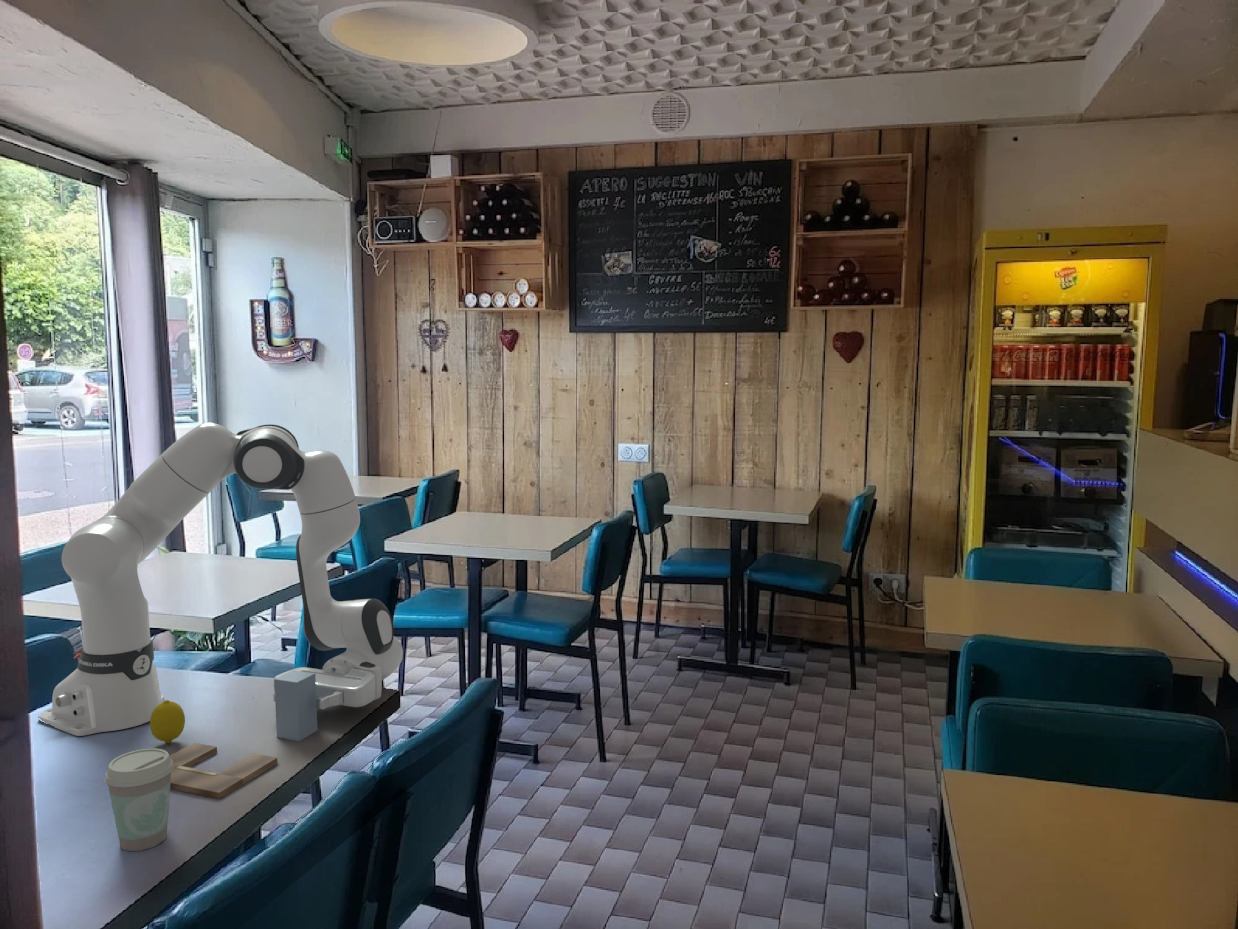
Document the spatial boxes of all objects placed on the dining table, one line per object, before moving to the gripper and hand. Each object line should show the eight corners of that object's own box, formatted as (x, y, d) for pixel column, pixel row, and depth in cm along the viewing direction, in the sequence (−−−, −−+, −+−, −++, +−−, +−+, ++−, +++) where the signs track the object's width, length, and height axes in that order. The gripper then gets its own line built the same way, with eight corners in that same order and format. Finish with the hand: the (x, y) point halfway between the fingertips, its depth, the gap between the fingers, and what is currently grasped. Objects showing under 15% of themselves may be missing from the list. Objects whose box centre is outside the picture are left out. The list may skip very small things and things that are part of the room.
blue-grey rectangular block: (276, 737, 157) (274, 679, 155) (295, 726, 161) (293, 670, 160) (299, 741, 155) (296, 682, 154) (317, 730, 160) (315, 673, 159)
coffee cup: (110, 864, 116) (105, 779, 115) (107, 835, 123) (102, 755, 122) (181, 845, 121) (176, 763, 120) (173, 819, 128) (169, 741, 127)
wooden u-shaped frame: (131, 780, 140) (131, 774, 140) (194, 748, 152) (194, 742, 152) (219, 798, 134) (218, 792, 134) (277, 763, 146) (277, 757, 146)
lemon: (192, 737, 156) (190, 695, 156) (173, 750, 151) (171, 707, 150) (163, 736, 157) (161, 694, 156) (144, 749, 152) (141, 705, 151)
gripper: (300, 655, 174) (251, 678, 161) (387, 667, 167) (342, 692, 154) (302, 685, 175) (252, 710, 162) (388, 698, 168) (343, 725, 155)
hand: (297, 701), depth 158 cm, fingers open, 8 cm apart
